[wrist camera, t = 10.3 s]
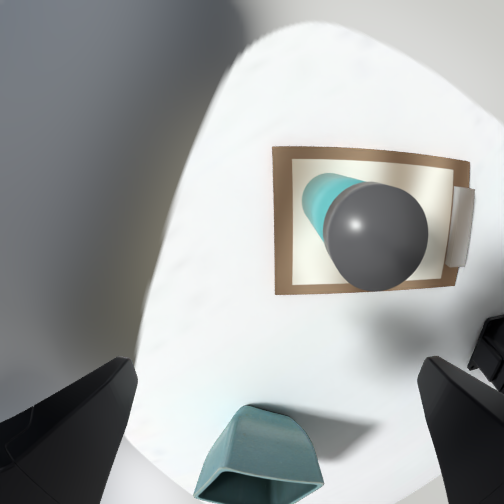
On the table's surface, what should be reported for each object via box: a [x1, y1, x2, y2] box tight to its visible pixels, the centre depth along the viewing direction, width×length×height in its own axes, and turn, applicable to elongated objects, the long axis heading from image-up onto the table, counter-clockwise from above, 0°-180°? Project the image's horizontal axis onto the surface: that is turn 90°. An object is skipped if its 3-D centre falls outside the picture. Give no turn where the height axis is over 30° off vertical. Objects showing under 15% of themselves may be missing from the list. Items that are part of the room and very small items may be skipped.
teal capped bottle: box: [302, 173, 428, 291], centre depth 13 cm, size 4×4×9 cm
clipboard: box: [272, 146, 475, 295], centre depth 18 cm, size 15×10×1 cm, turn 92°
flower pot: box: [193, 405, 324, 504], centre depth 22 cm, size 9×9×9 cm
